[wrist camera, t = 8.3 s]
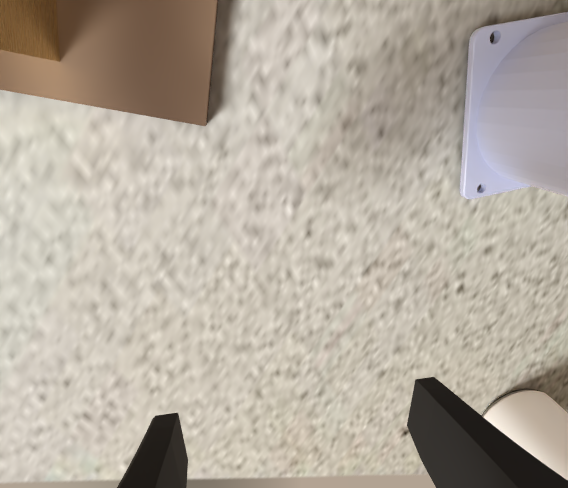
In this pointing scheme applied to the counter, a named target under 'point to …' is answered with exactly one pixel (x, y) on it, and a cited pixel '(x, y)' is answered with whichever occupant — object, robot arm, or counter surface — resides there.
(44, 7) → the link
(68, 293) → the counter surface
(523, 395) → the can
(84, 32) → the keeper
